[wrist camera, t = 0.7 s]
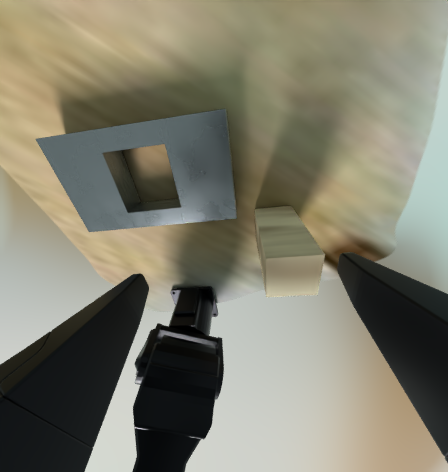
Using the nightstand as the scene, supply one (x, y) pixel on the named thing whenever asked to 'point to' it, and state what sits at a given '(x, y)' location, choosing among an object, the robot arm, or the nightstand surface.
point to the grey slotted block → (120, 181)
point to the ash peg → (287, 253)
